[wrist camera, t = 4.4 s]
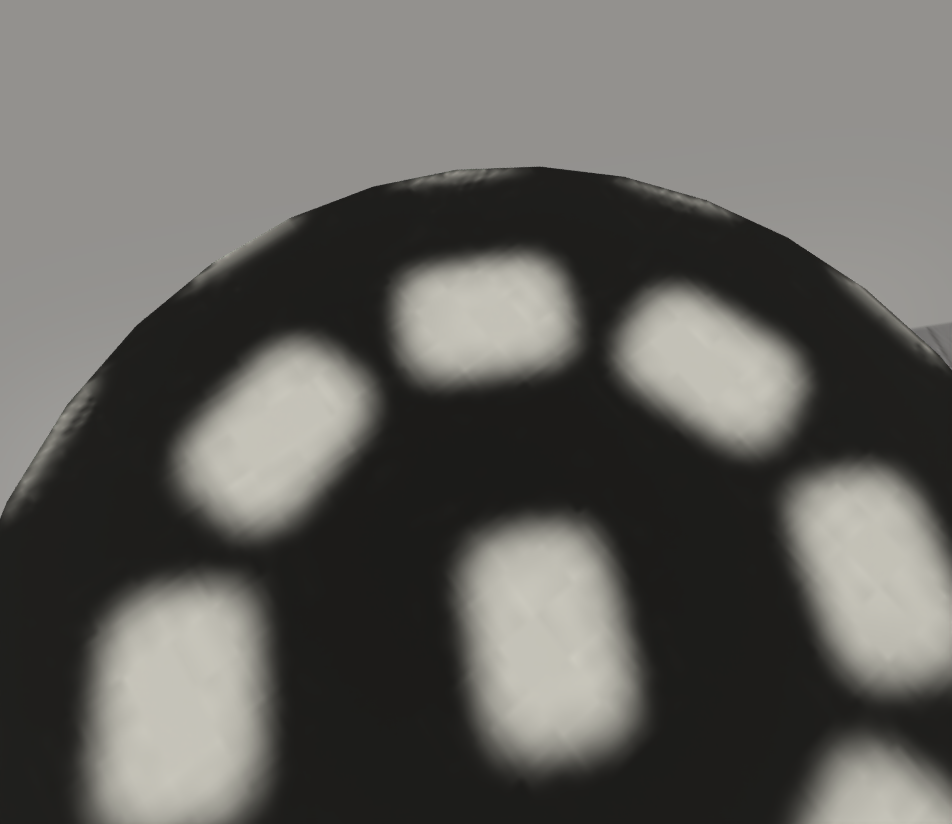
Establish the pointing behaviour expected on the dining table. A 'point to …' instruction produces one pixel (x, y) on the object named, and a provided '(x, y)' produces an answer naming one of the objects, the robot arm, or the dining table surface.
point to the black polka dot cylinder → (491, 531)
